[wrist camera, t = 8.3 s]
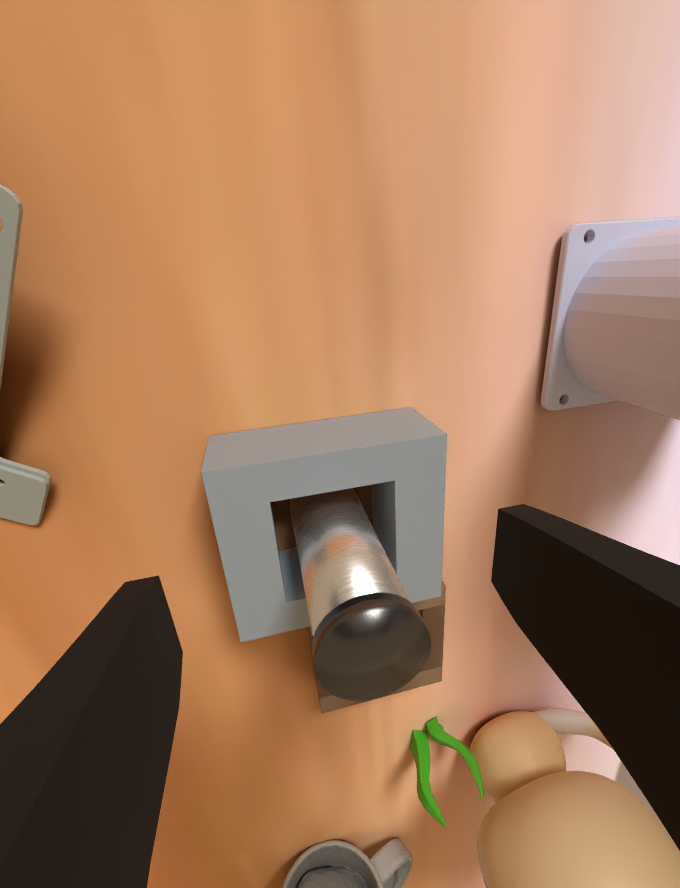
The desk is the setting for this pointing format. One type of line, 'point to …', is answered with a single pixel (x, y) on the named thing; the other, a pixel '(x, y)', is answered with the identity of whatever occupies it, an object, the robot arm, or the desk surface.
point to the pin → (355, 601)
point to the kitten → (552, 809)
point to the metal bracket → (22, 483)
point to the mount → (431, 671)
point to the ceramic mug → (350, 866)
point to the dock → (313, 472)
